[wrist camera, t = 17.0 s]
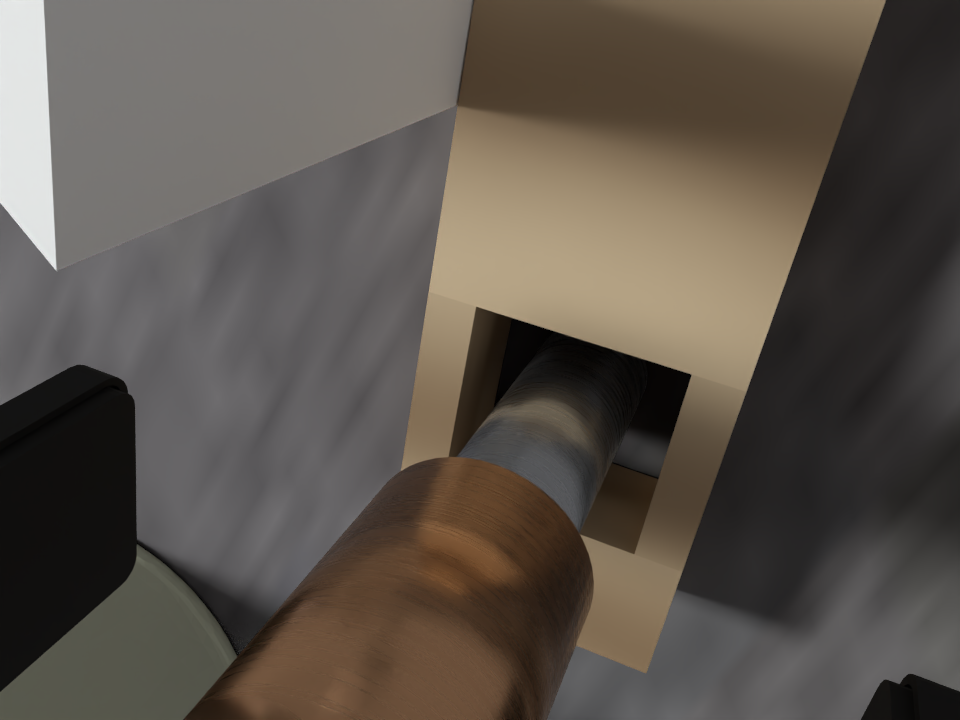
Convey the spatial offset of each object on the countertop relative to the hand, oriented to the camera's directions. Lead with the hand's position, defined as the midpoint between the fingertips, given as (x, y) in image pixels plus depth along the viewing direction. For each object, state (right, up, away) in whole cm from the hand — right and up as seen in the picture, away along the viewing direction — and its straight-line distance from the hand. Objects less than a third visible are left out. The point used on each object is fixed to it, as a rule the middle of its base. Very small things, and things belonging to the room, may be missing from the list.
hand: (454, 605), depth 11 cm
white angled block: (-1, +10, +4) cm, 11 cm away
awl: (+2, +3, +6) cm, 7 cm away
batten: (+3, +5, +4) cm, 7 cm away
